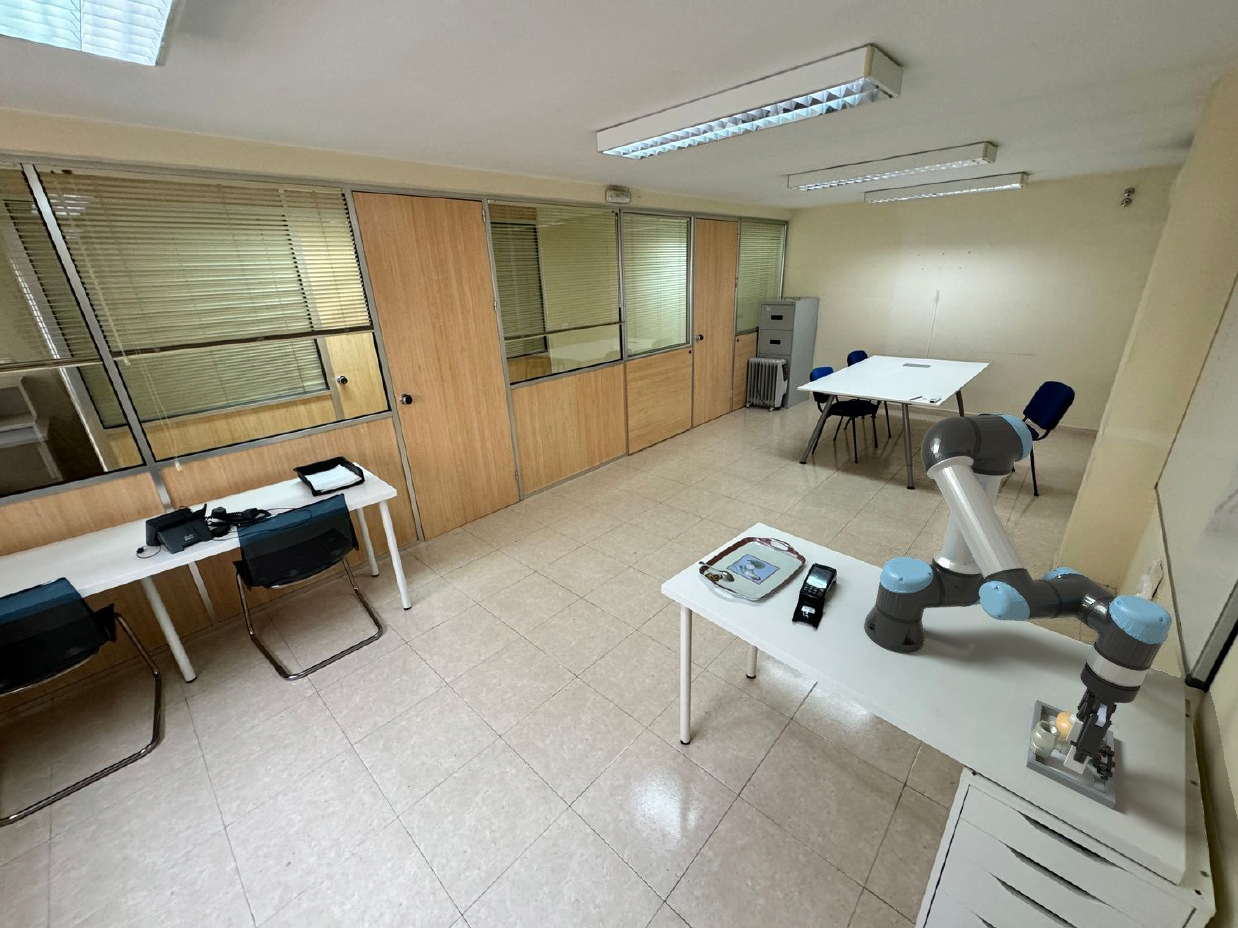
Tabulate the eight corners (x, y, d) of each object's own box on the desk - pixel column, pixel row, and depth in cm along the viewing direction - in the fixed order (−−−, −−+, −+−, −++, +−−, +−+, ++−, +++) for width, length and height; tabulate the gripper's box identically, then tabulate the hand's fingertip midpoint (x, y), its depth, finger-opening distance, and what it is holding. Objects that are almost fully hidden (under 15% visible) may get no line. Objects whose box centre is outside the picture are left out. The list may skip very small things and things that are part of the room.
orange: (1051, 737, 106) (1059, 719, 104) (1053, 719, 110) (1060, 701, 108) (1088, 754, 102) (1097, 736, 100) (1088, 735, 106) (1097, 717, 104)
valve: (1028, 757, 100) (1106, 788, 94) (1037, 734, 98) (1118, 765, 91) (1025, 733, 105) (1099, 761, 99) (1034, 711, 103) (1111, 739, 96)
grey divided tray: (1025, 769, 100) (1028, 760, 100) (1033, 707, 114) (1036, 699, 113) (1110, 811, 92) (1115, 803, 91) (1109, 739, 106) (1113, 731, 105)
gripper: (1145, 717, 81) (1098, 805, 90) (1138, 653, 93) (1098, 735, 102) (1085, 693, 86) (1046, 779, 94) (1086, 635, 98) (1052, 716, 107)
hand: (1073, 756), depth 98 cm, fingers closed on valve, 6 cm apart
